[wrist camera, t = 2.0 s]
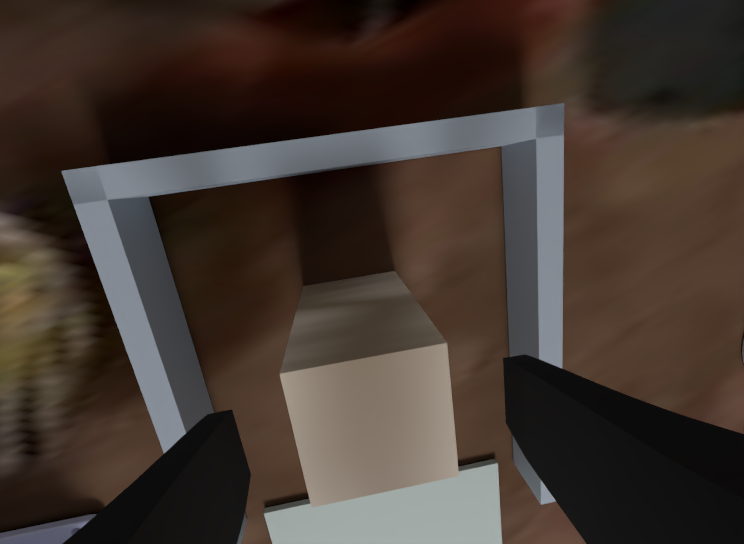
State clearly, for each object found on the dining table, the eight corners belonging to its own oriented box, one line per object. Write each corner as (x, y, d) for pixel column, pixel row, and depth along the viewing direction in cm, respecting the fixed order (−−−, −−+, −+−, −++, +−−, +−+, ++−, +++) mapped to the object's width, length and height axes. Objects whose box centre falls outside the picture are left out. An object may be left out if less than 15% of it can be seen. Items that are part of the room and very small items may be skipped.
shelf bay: (226, 524, 17) (210, 579, 15) (111, 173, 13) (61, 171, 10) (531, 458, 18) (561, 499, 16) (523, 116, 14) (564, 103, 12)
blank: (319, 368, 16) (311, 507, 9) (302, 286, 15) (279, 373, 8) (405, 353, 16) (459, 476, 9) (394, 270, 15) (447, 342, 8)
